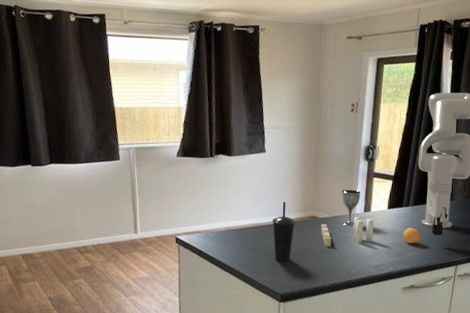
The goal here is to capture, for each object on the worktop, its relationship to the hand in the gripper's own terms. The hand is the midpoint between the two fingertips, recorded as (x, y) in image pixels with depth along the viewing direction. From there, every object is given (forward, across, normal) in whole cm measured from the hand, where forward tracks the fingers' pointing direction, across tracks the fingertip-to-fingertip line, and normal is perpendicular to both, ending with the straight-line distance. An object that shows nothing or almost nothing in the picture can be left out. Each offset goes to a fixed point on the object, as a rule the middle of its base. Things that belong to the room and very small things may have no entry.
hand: (437, 234), depth 162 cm
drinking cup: (+6, +26, -59) cm, 65 cm away
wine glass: (+4, -26, -29) cm, 39 cm away
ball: (+1, -1, -9) cm, 9 cm away
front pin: (+4, -1, -25) cm, 26 cm away
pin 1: (+4, -3, -30) cm, 30 cm away
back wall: (+5, -1, -42) cm, 42 cm away
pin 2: (+5, +2, -30) cm, 30 cm away
